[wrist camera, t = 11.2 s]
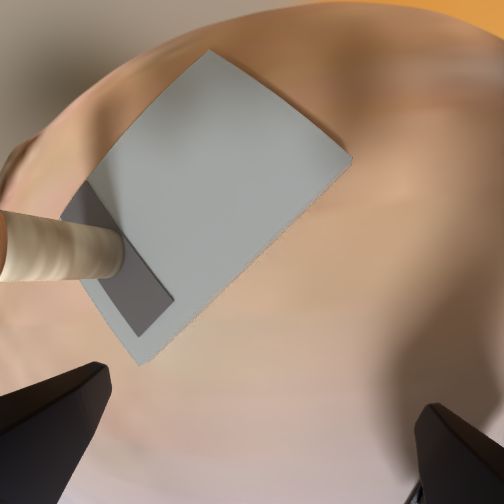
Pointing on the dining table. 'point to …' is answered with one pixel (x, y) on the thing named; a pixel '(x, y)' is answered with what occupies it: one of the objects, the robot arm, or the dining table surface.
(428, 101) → the dining table surface
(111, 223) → the strip
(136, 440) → the dining table surface
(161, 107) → the board
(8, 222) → the birch peg
